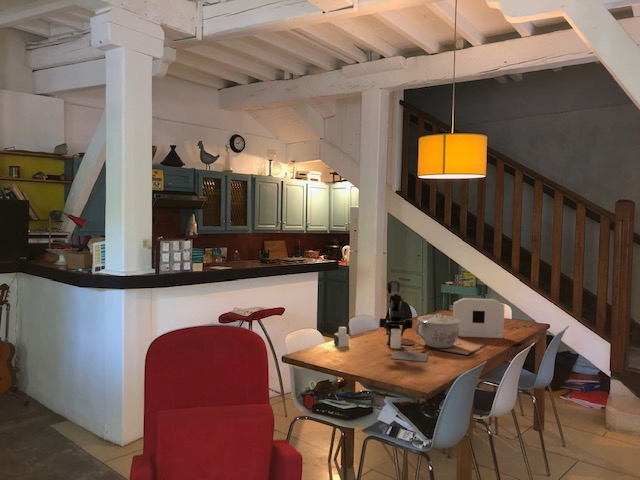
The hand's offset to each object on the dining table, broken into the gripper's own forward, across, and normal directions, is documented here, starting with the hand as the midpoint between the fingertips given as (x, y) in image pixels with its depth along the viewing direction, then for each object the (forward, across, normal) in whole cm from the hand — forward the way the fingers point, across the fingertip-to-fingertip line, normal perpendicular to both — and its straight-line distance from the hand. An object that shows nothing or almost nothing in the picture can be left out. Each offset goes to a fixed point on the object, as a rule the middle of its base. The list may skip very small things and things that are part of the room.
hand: (396, 336), depth 297 cm
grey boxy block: (-44, +59, +64) cm, 97 cm away
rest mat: (+5, +8, +14) cm, 17 cm away
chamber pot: (-16, +29, +35) cm, 48 cm away
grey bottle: (-9, -32, +28) cm, 43 cm away
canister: (+4, 0, +6) cm, 7 cm away
